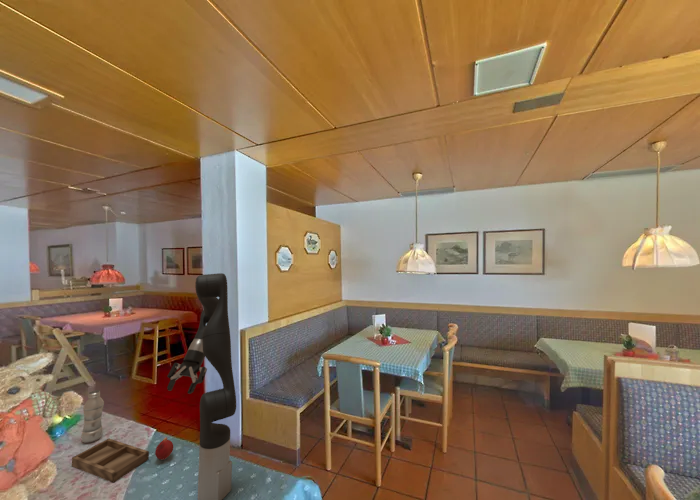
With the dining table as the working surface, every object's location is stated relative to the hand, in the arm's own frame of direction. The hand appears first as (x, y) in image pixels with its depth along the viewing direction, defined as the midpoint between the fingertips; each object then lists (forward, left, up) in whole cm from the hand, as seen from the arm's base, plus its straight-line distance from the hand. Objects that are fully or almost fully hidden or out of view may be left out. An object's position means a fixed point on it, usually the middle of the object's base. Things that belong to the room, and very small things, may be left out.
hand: (179, 392), depth 113 cm
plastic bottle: (+39, +7, -24) cm, 47 cm away
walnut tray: (+17, +13, -23) cm, 32 cm away
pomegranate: (0, +5, -24) cm, 24 cm away
